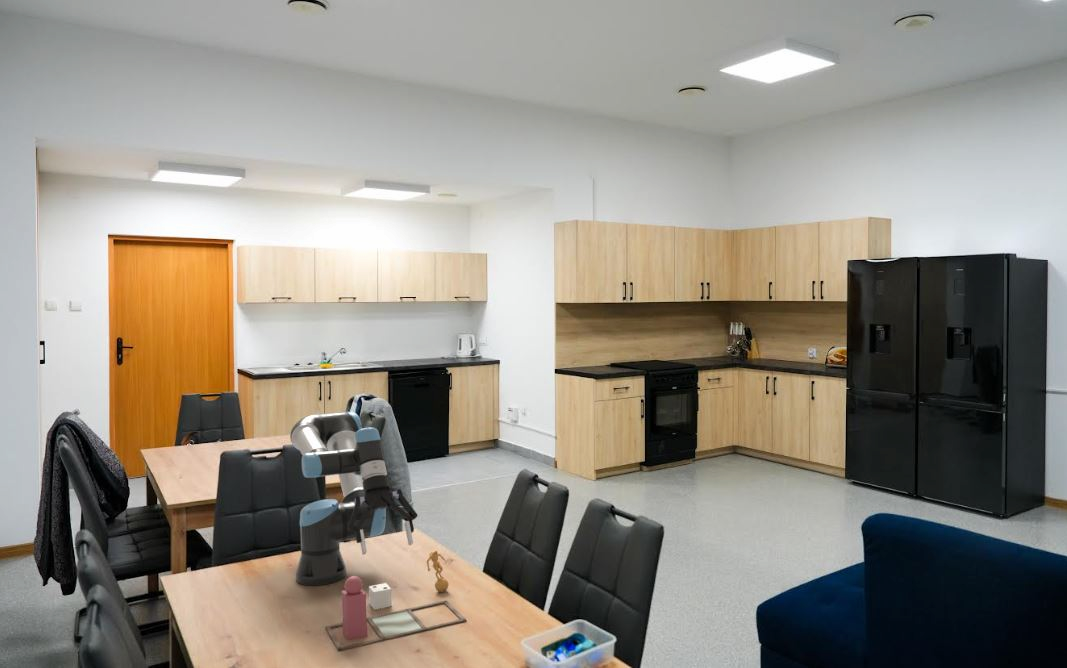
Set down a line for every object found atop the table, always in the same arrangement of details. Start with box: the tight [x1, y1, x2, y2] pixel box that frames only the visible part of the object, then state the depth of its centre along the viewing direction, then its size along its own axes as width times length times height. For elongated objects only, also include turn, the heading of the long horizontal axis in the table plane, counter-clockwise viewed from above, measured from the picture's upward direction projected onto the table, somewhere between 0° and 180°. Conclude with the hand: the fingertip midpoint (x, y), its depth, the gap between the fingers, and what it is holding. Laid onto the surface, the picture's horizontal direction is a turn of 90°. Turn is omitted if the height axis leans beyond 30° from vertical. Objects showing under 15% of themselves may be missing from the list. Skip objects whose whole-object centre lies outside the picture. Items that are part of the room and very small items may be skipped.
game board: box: [324, 600, 467, 652], centre depth 197 cm, size 15×34×1 cm, turn 118°
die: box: [368, 582, 392, 610], centre depth 210 cm, size 5×5×5 cm
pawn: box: [341, 575, 368, 641], centre depth 192 cm, size 5×5×15 cm
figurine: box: [426, 550, 449, 593], centre depth 219 cm, size 8×6×12 cm
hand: (388, 548), depth 213 cm, fingers open, 13 cm apart
